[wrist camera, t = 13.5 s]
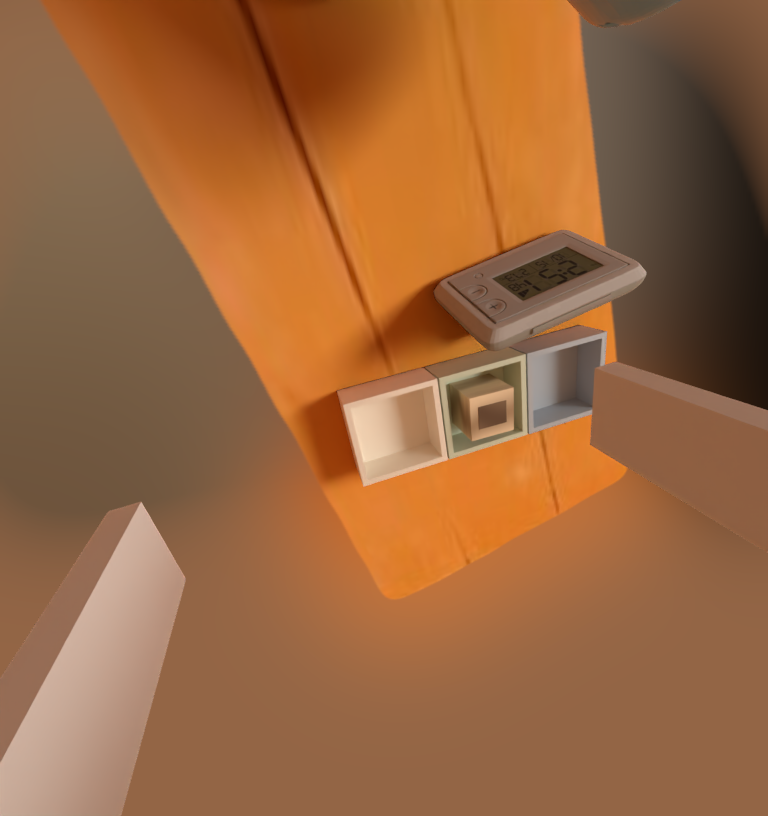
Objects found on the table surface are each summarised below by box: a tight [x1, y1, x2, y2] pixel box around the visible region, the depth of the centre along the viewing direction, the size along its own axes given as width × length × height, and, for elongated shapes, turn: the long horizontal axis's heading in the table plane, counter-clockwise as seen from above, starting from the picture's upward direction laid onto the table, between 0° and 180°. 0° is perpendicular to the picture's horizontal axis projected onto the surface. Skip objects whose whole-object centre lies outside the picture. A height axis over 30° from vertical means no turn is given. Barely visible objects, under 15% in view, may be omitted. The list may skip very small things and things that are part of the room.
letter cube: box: [449, 374, 514, 441], centre depth 42 cm, size 5×5×5 cm
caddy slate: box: [509, 325, 607, 434], centre depth 44 cm, size 10×10×4 cm
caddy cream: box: [337, 367, 448, 486], centre depth 41 cm, size 10×10×4 cm
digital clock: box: [434, 230, 646, 351], centre depth 36 cm, size 16×9×11 cm, turn 99°
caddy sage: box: [424, 347, 528, 459], centre depth 42 cm, size 10×10×4 cm
